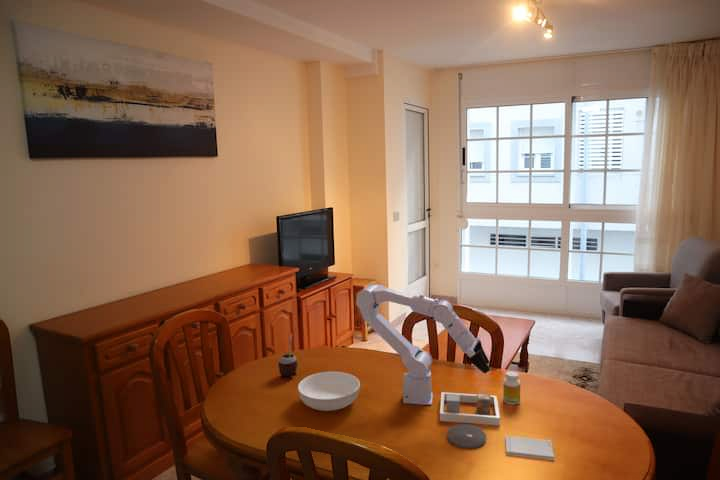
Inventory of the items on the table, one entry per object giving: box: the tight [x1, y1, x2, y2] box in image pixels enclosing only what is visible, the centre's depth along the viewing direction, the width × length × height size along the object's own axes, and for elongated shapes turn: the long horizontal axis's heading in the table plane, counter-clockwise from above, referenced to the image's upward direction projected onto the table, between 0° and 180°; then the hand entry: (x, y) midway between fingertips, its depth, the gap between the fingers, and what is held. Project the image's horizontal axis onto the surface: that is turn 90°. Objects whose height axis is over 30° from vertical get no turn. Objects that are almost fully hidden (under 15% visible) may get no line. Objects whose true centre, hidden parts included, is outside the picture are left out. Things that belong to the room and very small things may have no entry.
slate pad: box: [446, 423, 487, 450], centre depth 143 cm, size 11×11×1 cm
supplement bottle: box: [502, 370, 521, 406], centre depth 163 cm, size 5×5×10 cm
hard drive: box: [504, 435, 555, 461], centre depth 137 cm, size 2×8×12 cm
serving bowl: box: [297, 371, 361, 412], centre depth 165 cm, size 21×21×7 cm
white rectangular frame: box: [439, 391, 501, 426], centre depth 157 cm, size 18×14×2 cm
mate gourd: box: [278, 333, 298, 380], centre depth 186 cm, size 8×8×15 cm
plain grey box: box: [446, 394, 461, 413], centre depth 156 cm, size 4×4×6 cm
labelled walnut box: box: [476, 393, 491, 416], centre depth 156 cm, size 4×4×6 cm
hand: (487, 367), depth 156 cm, fingers open, 7 cm apart
